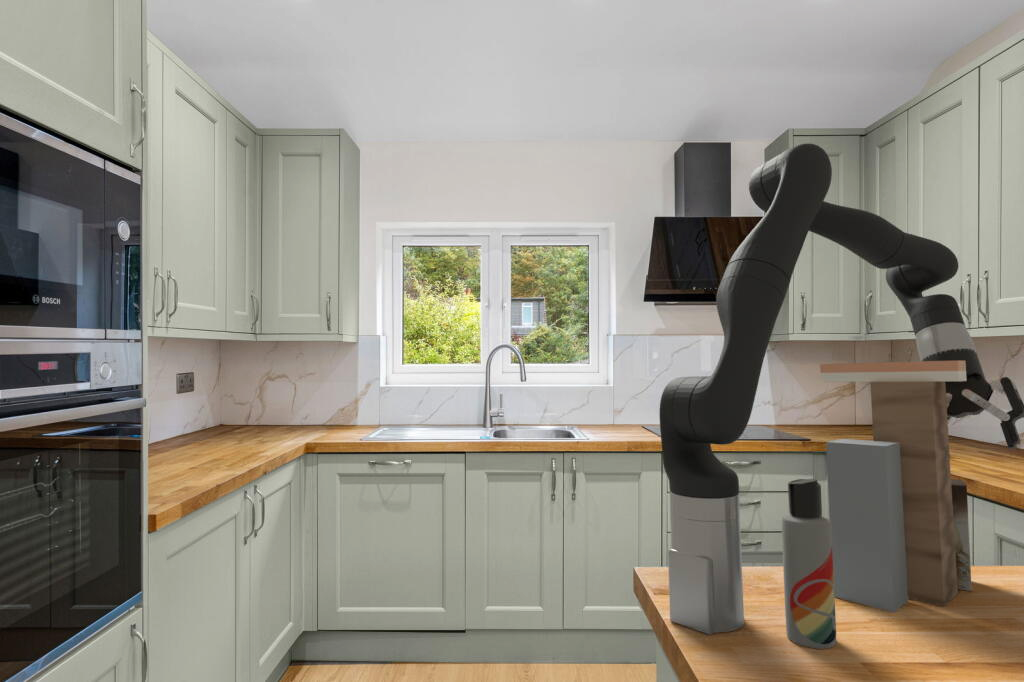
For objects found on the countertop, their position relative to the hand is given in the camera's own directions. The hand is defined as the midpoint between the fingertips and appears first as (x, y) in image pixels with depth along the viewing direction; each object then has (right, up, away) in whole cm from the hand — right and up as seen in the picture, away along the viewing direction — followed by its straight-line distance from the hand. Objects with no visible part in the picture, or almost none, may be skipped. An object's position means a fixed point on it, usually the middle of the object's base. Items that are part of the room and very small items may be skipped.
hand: (978, 453), depth 90 cm
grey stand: (-19, -21, -3) cm, 28 cm away
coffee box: (-4, -21, +4) cm, 22 cm away
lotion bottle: (-34, -21, -16) cm, 43 cm away
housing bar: (-12, +11, +3) cm, 16 cm away
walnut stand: (-10, -21, -1) cm, 23 cm away
